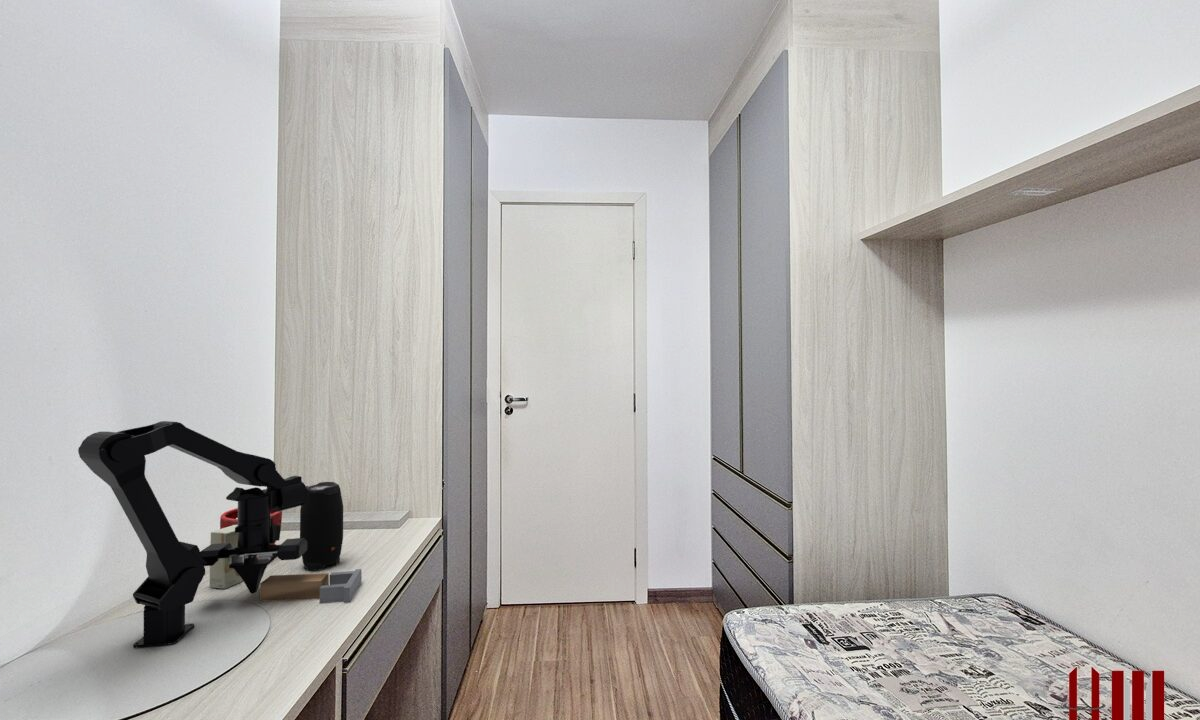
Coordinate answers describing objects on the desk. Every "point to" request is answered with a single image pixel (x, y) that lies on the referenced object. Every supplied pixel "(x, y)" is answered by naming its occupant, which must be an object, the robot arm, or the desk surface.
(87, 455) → the robot arm
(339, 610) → the desk surface
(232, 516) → the plant pot
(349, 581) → the end cap
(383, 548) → the desk surface
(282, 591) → the brown wooden block
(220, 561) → the skincare box
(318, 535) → the portable speaker
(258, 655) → the desk surface
